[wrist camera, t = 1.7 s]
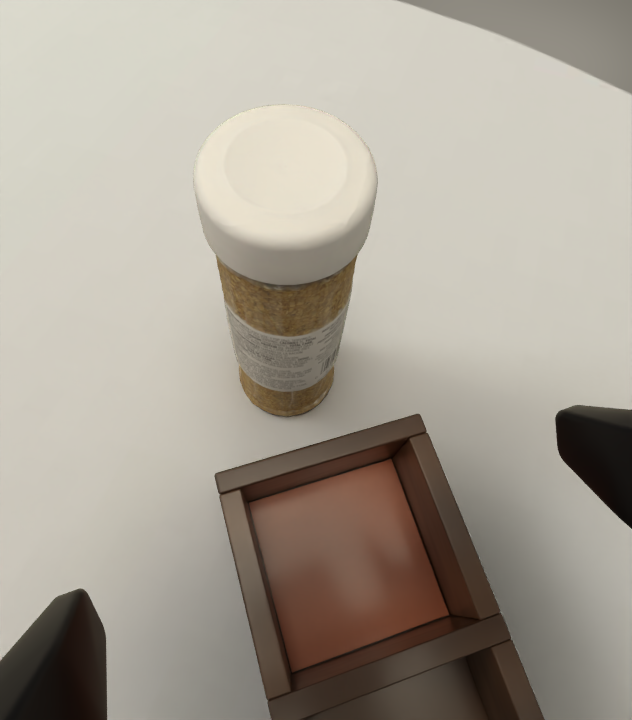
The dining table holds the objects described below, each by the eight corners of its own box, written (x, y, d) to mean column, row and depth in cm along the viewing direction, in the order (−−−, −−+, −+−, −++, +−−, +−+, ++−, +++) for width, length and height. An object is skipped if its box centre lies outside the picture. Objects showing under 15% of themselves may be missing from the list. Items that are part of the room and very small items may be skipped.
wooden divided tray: (557, 853, 18) (629, 924, 14) (337, 957, 16) (352, 1067, 13) (398, 439, 24) (420, 412, 20) (225, 491, 22) (213, 473, 18)
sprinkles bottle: (277, 315, 26) (269, 70, 13) (352, 365, 25) (416, 151, 13) (219, 383, 24) (148, 175, 12) (296, 439, 23) (307, 277, 11)
